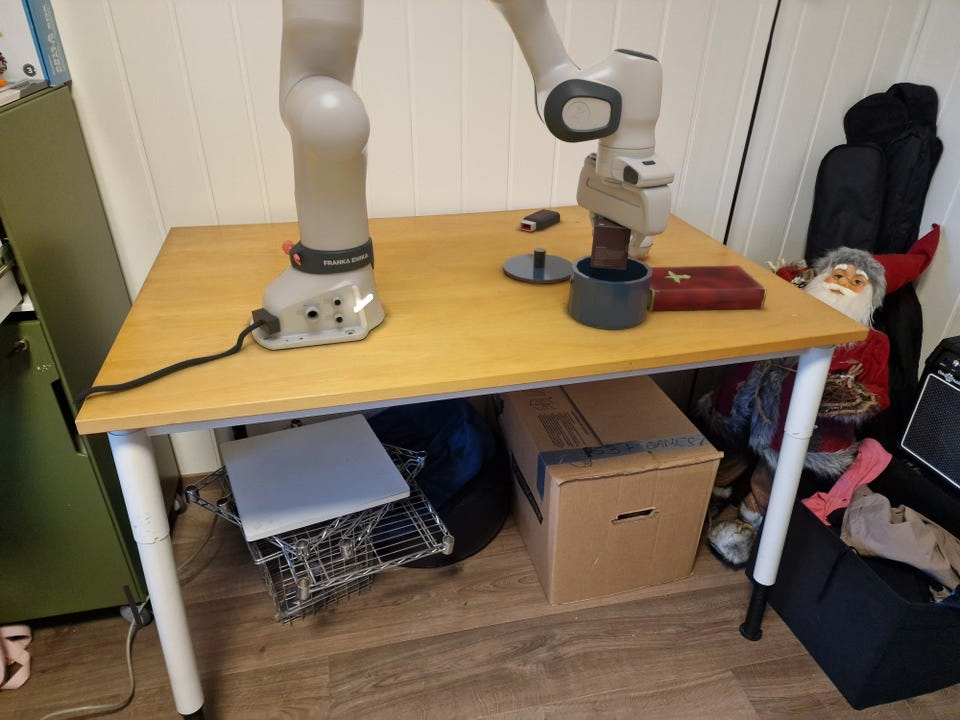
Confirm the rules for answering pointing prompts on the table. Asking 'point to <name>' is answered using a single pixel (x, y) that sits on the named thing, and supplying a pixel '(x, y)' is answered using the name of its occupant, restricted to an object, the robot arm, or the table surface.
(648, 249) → the white sphere
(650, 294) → the hardcover book
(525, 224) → the usb drive
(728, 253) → the table surface
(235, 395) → the table surface
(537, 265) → the pot lid
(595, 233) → the box
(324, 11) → the robot arm
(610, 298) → the pot
